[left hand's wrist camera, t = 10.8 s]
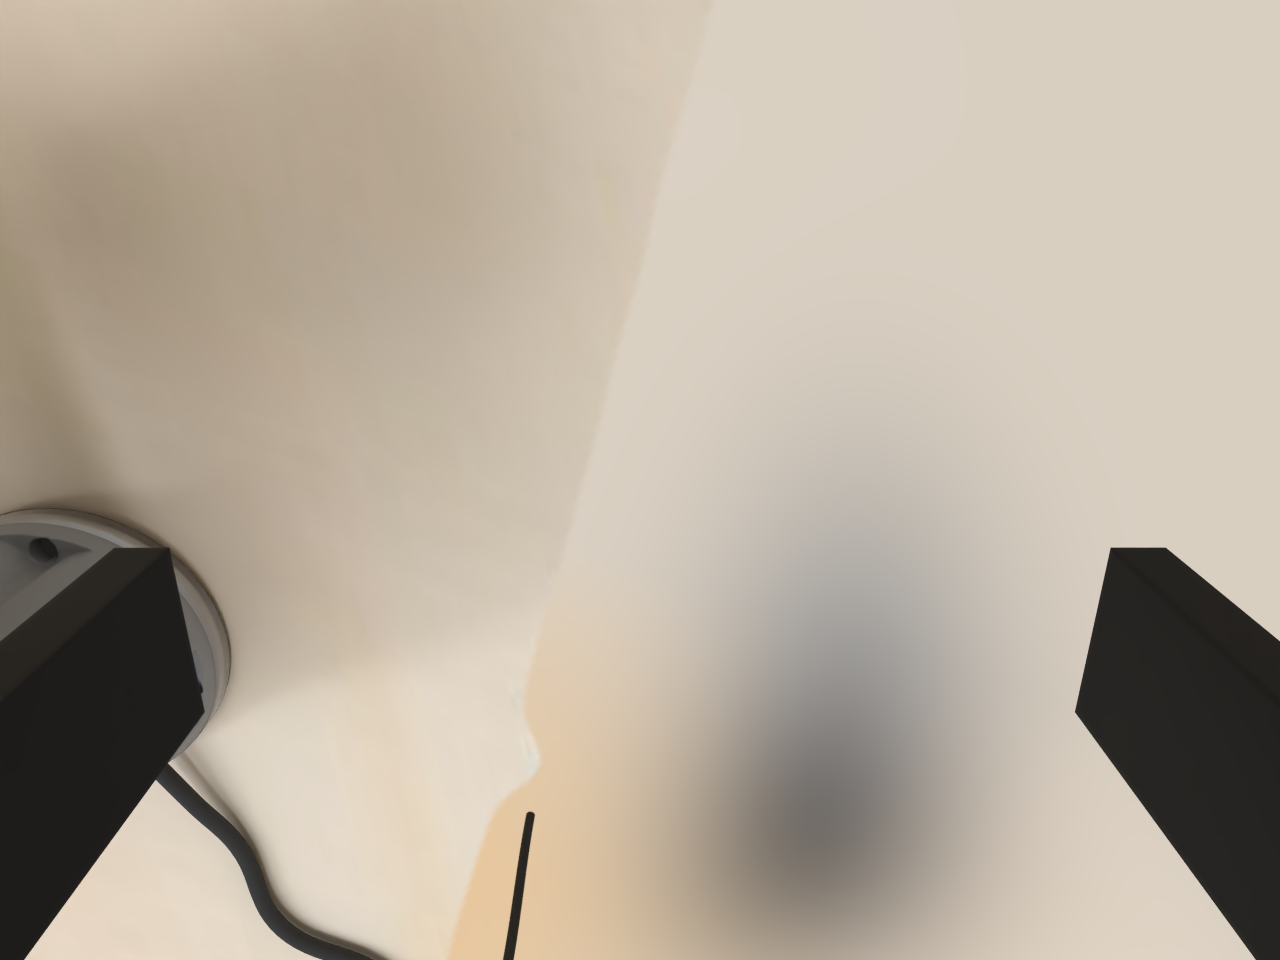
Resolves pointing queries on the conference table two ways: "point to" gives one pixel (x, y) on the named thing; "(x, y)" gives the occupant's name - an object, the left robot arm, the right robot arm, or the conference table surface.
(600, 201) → the conference table surface
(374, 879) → the conference table surface
